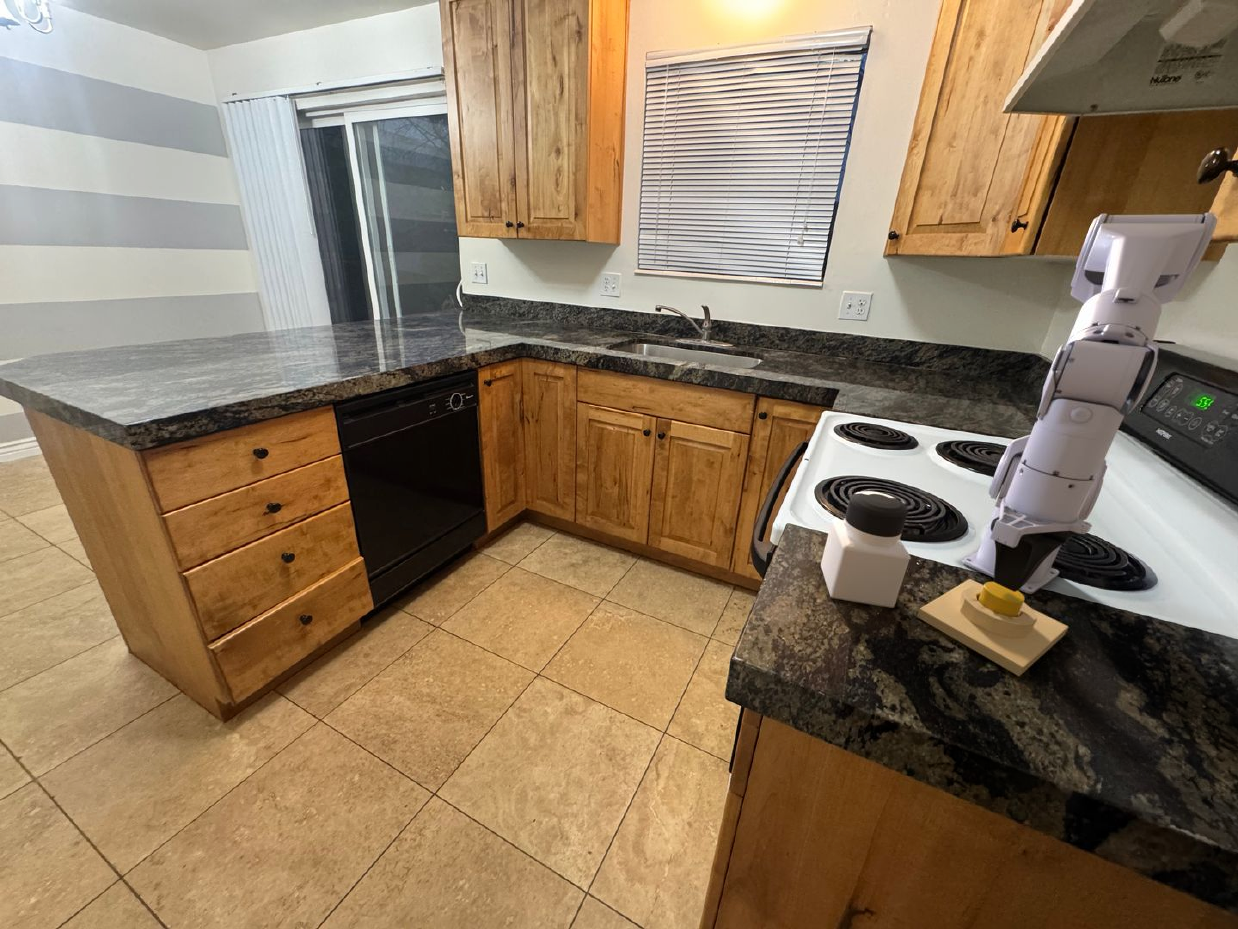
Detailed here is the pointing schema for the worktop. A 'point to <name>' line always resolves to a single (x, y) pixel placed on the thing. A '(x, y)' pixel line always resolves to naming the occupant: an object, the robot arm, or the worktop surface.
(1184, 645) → the worktop surface
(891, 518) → the medicine bottle
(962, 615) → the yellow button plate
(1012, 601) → the button
